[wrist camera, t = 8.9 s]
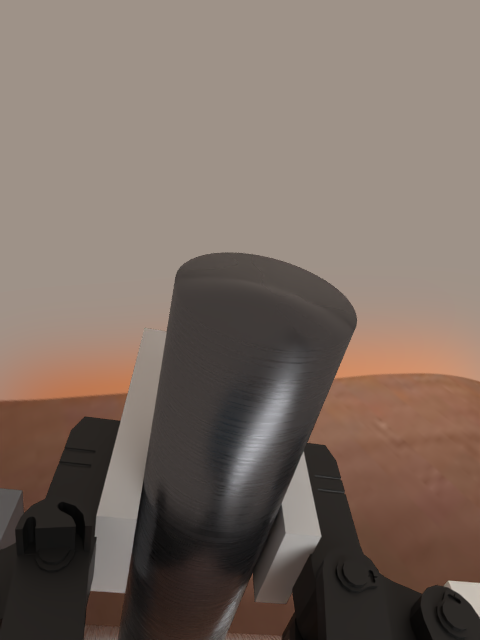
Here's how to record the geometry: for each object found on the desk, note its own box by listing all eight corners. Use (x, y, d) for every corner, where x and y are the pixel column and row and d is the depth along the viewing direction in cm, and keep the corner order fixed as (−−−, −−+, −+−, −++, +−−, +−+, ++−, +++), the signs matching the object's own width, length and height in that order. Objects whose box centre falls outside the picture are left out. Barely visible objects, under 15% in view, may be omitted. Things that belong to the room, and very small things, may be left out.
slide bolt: (573, 674, 21) (978, 385, 12) (635, 783, 18) (1248, 507, 9) (-19, 646, 17) (-101, 181, 8) (-71, 780, 14) (-306, 271, 5)
